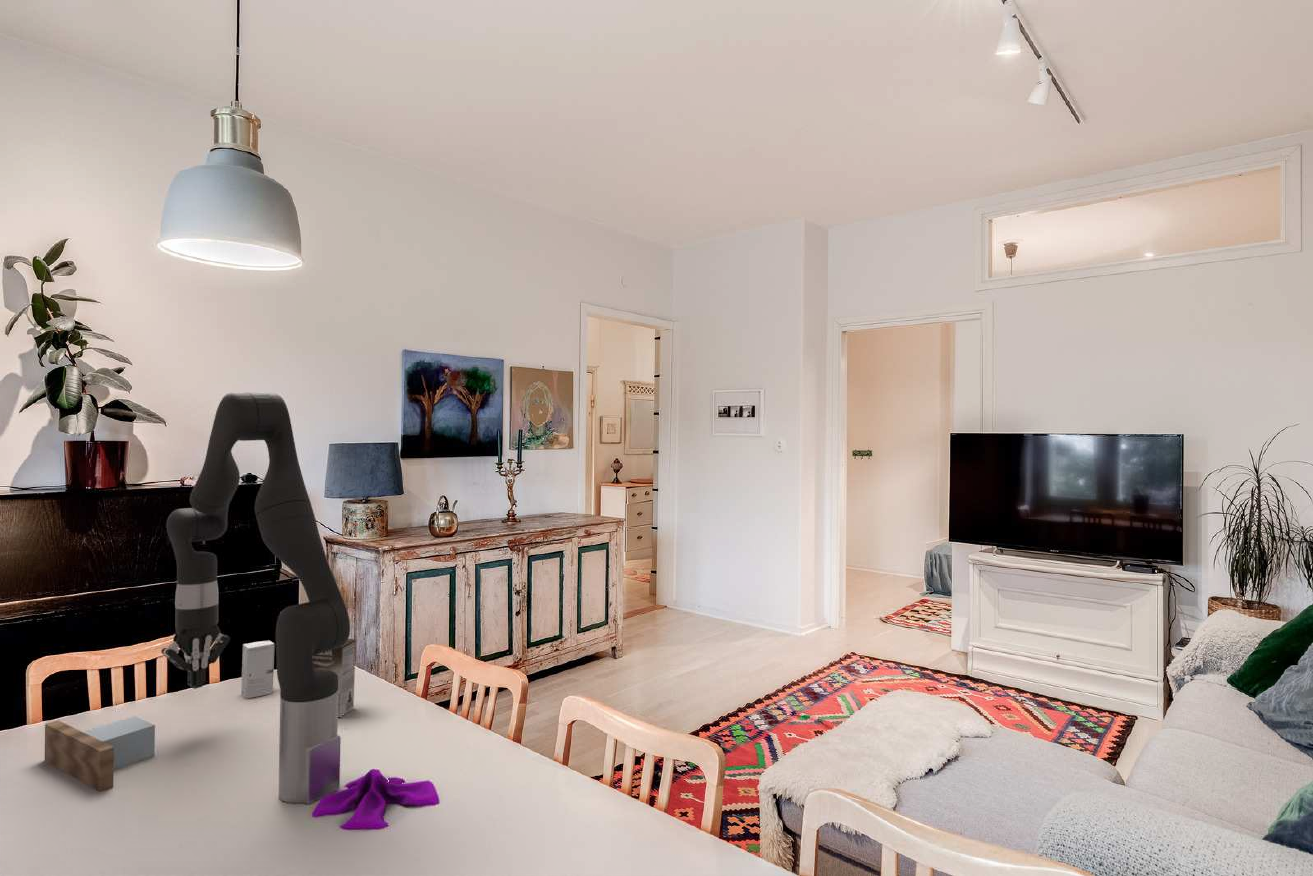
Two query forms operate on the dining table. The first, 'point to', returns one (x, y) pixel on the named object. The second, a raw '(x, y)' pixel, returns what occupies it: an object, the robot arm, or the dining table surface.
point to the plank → (79, 755)
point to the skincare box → (257, 669)
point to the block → (127, 739)
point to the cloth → (374, 799)
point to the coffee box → (340, 672)
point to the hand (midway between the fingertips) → (196, 687)
